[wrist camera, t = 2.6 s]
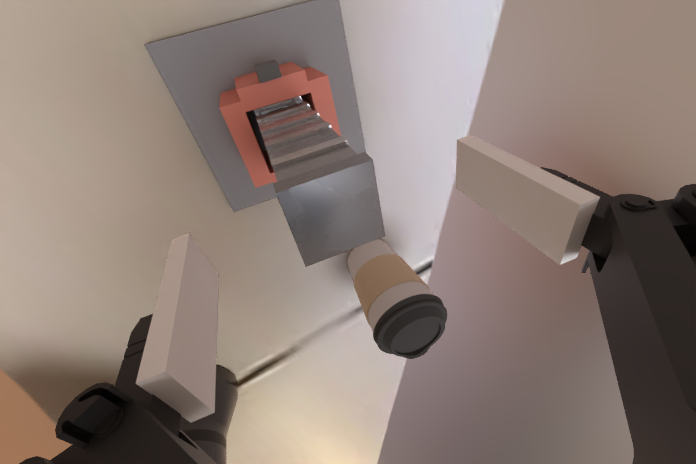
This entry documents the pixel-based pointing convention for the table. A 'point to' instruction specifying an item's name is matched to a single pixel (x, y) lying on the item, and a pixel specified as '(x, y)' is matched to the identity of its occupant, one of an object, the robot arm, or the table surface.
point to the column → (319, 181)
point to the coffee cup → (395, 301)
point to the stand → (258, 87)
